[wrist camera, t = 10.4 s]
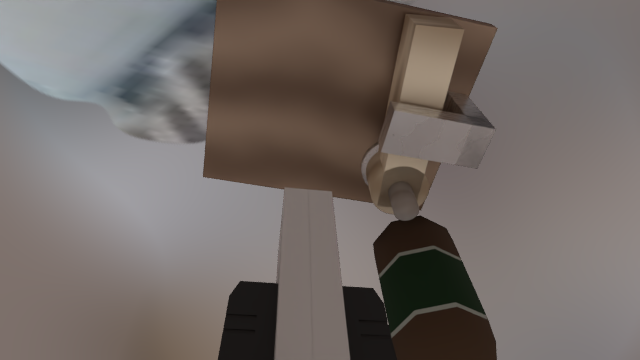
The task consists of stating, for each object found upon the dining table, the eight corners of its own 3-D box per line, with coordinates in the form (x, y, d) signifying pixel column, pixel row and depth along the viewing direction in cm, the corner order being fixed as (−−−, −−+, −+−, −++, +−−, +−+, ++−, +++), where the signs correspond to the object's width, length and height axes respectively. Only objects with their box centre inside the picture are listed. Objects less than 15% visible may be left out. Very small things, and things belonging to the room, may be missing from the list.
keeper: (424, 196, 37) (442, 240, 33) (348, 184, 36) (355, 228, 32) (466, 94, 32) (496, 129, 28) (380, 77, 31) (394, 110, 27)
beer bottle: (464, 249, 43) (610, 561, 23) (397, 284, 45) (474, 595, 25) (426, 198, 39) (558, 515, 19) (355, 239, 41) (406, 559, 21)
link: (413, 194, 36) (429, 236, 32) (361, 190, 36) (370, 233, 31) (460, 19, 29) (490, 41, 24) (395, 12, 28) (413, 34, 24)
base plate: (417, 202, 39) (420, 210, 38) (205, 169, 37) (202, 176, 36) (491, 24, 31) (497, 28, 30) (222, -37, 28) (219, -35, 27)
